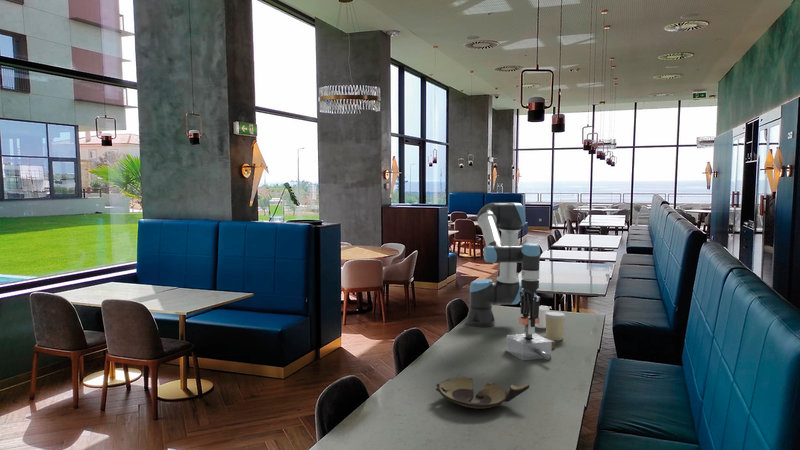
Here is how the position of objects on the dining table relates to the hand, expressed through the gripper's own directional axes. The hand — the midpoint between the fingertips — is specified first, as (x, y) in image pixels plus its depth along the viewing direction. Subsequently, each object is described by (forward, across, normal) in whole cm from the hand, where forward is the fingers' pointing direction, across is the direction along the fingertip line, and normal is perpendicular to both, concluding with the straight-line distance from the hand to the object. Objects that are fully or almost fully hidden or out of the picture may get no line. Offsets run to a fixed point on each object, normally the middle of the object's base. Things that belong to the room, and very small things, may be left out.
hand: (528, 332), depth 234 cm
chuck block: (+10, +4, 0) cm, 11 cm away
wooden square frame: (+10, -8, +12) cm, 17 cm away
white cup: (+10, -38, +30) cm, 50 cm away
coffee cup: (+10, -18, +25) cm, 32 cm away
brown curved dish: (+10, +43, -44) cm, 62 cm away
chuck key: (+5, 0, 0) cm, 5 cm away
